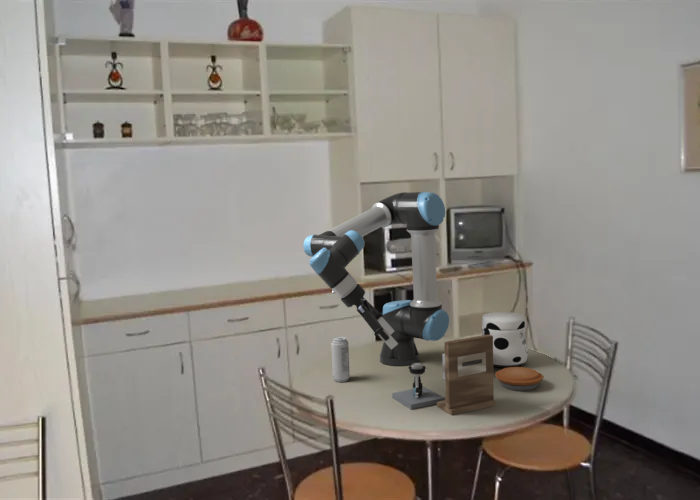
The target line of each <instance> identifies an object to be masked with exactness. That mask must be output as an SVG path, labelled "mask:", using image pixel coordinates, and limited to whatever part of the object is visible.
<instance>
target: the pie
mask: <svg viewBox="0 0 700 500" xmlns="http://www.w3.org/2000/svg"><path fill="white" fill-rule="evenodd" d="M494 375H495V378H496V379H497V380H498V381H499V382H498V383H500V385H501V386H502V387H503V388H504V389H506V390H511V391H515V392H528V391H533V390H534V389H536V388H537V387H538V385H539V384H540V382H542V381H543V379H544V375H543V374H542V373H540V372H538V370H536V369H533V368H530V367H524V366H515V367H503V368H502V369H499V370H498V371H496V372H495V374H494Z"/></svg>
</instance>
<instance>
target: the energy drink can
mask: <svg viewBox="0 0 700 500" xmlns="http://www.w3.org/2000/svg"><path fill="white" fill-rule="evenodd" d="M349 347H350V346H349V342H348V340H347V337H346V336H335V337H333V338H332V341H331V343H330V348H331V368H332V370H331V371H332V373H331V374H332V379H333V380H334V381H333V382H335V383H345V382H348V381H349V378H350V375H351V373H350V354H349V350H350V349H349Z"/></svg>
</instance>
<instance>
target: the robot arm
mask: <svg viewBox="0 0 700 500" xmlns="http://www.w3.org/2000/svg"><path fill="white" fill-rule="evenodd" d="M445 217H446V207H445V203H444V200H443V199H442V197H440V196H439V194H437V193H435V192H429V191H420V192H419V191H417V192H413V191H412V192H406V191H405V192H403V191H402V192H397V193H395V194H392V195H389V196H388V197H385V198H384V199H381V200H379V201H377V202H375V203H373V205H372V206H371V208H370V209H368V210H366V211H364V212H362V213H360V214H358V215H356V216H353V217H352V218H350V219H348V220H346V221H344V222H342V223H340V224H338V225H336V226H334V227H332V228H330V229H328V230H327V231H324V232H323V233H320V234H310V235H308V236H307V237H306V238H305V239H304V241H303V251H304V253H305V254H306V255H307V256H308V257H311V258H310V259H309V263H308V264H309V265H310V267H311V268H312V269H313V271H314V272H315V274H316V275H318V277H320V279H321V280H322V281H324V283H325V284H326V285H327V287H329V289H331V290H332V291H331V293H332V294H333V295H334V294H335V295H336V296H337V297H338V298H339V299H340V298H341V299H340V300H341V302H342V303H343V304H344V305H345V306H346V307H347V308H351V307H353V306H355V307H356V312H357V313H358V314H359V315H361V317H362V318H363V320H364V321H365V322H366V323H367V324H368V326H369V327H370V329H371V330H372V332H374V333H373V334H374V336H378V337H379V338H380V339H381V340H382V341H383V342H382V346H381V350H380V353H379V362H380V363H382V364H383V365H388V366H393V367H394V366H398V367H401V366H403V367H404V366H412V365H411V364H412V363H419V361H420V353H419V350H418V348H417V344H416V342H415V339H421V340H424V341H427V342H428V341H431V342H435V341H439V340H441V339H443V337H444V336H445V335H446V333H447V331H448V329H449V324H450V316H449V314H448V312H447V311H445V310H444V309H443V307H442V304H443V303H442V302H441V301H440V300H439V299H438V284H437V283H438V281H437V280H438V279H437V256H436V233H437V232H438V231H439V230H440V227H439V225H441V224H443V222H444V218H445ZM393 225H406V232H408V233H409V234H410V243H411V261H412V262H411V266H412V268H411V269H412V285H413V286H412V287H413V289H412V290H413V299H412V300H411V299H405V300H403V299H401V300H395V301H390V302H386V303H385V304H384V305H383V307H382V311H379V310H377V309H376V308H375V307H374V306H373V305H372V304H371V303H370V302H369V301H368V300H367V299H366V298H365V297H364V296H365V294H366V290H365V289H364V288H363V287H362V286H361V285H360V284H359V283H358V281H357V280H356V279H355V278H354V277H353V276H352V274H351V273H350V272H349V271H348V270H347V269H346V268H347V266H348V265H349V264H350V263H351V262H352V261H353V260H354V259H355V258H356V257H357V256H358V255H359V254H360V252H361V251H362V250H363V249H364V247H365V246H366V245H365V240H364V238H363V237H364V236H367V235H369V234H370V233H372V232H374V231H376V230H378V229H380V228H387V227H389V226H393Z"/></svg>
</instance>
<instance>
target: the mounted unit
mask: <svg viewBox="0 0 700 500" xmlns="http://www.w3.org/2000/svg"><path fill="white" fill-rule="evenodd" d="M442 379H443V380H444V381H445V399H444V401H439V402H437V404H436V408H439V409H440V410H442V411H444V412H446V413H447V414H449V416H450V415H451V416H454V415H459V414H463V413H467V412H471V411H476V410H477V411H478V410H481V409H484V408H489V407H494V406H496V405H497V403H496V401H497V400H496V399H494V397H495V396H494V395H495V394H494V391H495V390H494V366H493V336H492V335H483V336H482V335H477V336H472V337H466V338H460V339H453V340H447V341H444V353H442Z"/></svg>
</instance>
